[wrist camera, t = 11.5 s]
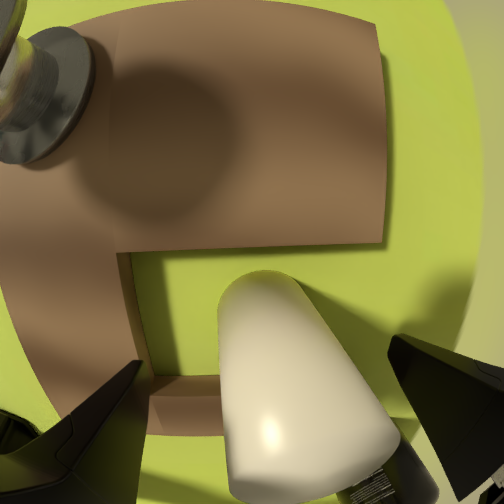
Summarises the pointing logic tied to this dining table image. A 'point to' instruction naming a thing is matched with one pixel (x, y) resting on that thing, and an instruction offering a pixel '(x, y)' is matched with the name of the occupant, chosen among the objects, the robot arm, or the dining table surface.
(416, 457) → the supplement bottle
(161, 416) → the notched board
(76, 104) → the bobbin
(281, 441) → the cream peg
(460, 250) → the dining table surface
